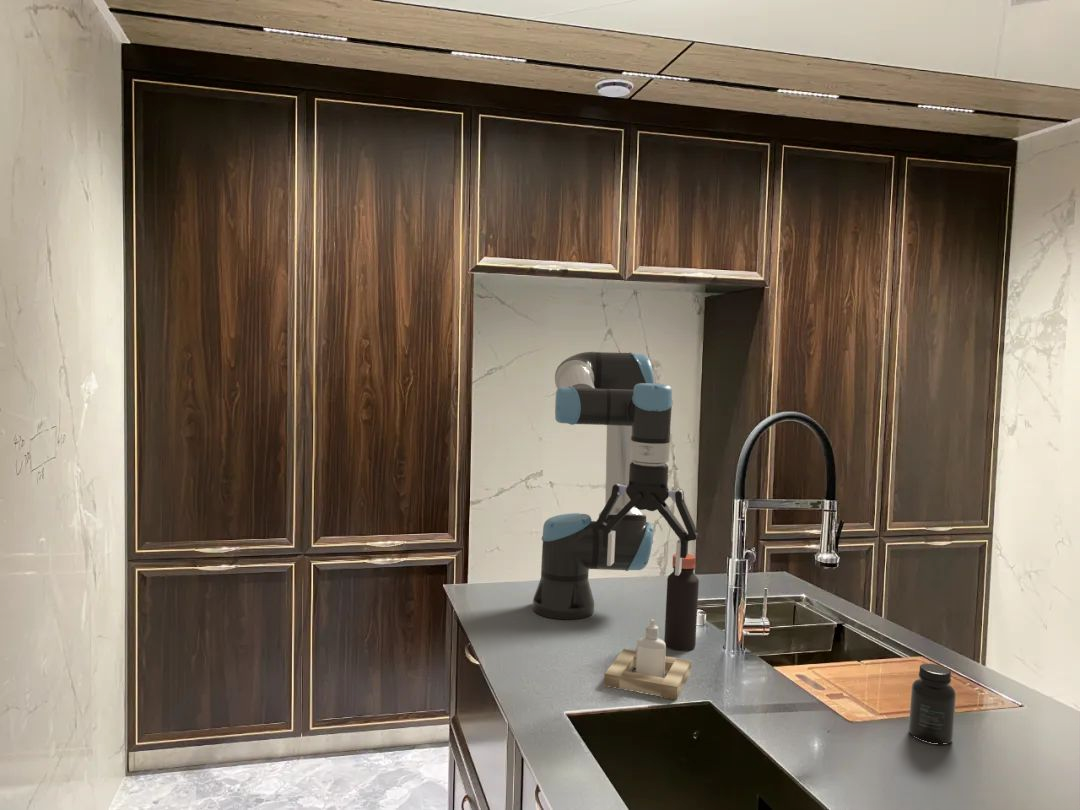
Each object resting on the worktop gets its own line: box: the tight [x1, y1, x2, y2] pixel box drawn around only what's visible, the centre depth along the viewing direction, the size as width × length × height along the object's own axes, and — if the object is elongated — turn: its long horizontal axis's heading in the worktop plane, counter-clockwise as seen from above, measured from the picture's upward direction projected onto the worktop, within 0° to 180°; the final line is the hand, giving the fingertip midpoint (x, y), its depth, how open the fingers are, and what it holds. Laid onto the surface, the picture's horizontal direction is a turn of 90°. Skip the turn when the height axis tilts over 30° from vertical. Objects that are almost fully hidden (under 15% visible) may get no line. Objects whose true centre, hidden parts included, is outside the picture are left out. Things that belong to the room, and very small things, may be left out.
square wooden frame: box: [603, 648, 692, 701], centre depth 159 cm, size 14×14×2 cm
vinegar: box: [663, 553, 700, 652], centre depth 177 cm, size 7×7×20 cm
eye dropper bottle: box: [635, 618, 667, 678], centre depth 159 cm, size 4×6×12 cm
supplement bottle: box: [908, 663, 957, 744], centre depth 139 cm, size 7×7×12 cm
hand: (643, 568), depth 160 cm, fingers open, 13 cm apart
